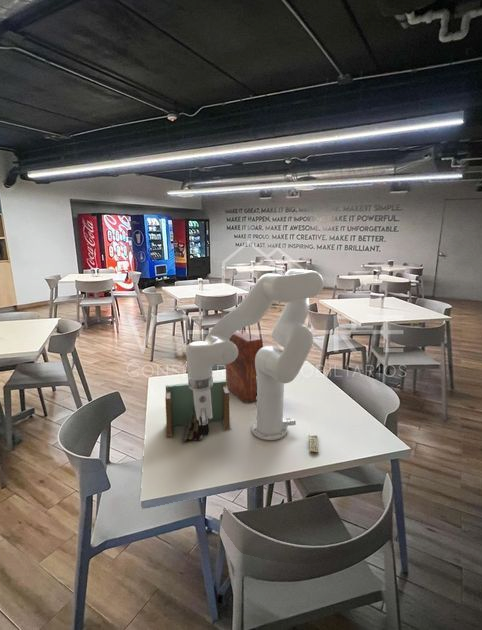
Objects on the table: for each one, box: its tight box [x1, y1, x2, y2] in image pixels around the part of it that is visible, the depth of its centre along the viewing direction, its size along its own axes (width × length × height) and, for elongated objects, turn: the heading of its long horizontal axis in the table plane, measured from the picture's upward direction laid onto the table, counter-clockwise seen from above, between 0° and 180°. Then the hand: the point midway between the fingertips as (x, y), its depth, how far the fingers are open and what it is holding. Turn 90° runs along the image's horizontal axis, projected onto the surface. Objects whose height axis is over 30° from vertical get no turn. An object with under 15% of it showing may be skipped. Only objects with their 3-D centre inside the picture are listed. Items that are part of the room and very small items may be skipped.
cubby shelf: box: [164, 379, 231, 438], centre depth 122 cm, size 22×9×16 cm, turn 104°
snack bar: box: [308, 434, 320, 454], centre depth 113 cm, size 10×2×3 cm
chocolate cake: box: [183, 410, 203, 442], centre depth 119 cm, size 10×7×12 cm
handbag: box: [225, 325, 264, 403], centre depth 149 cm, size 10×19×35 cm, turn 31°
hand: (203, 433), depth 108 cm, fingers closed
